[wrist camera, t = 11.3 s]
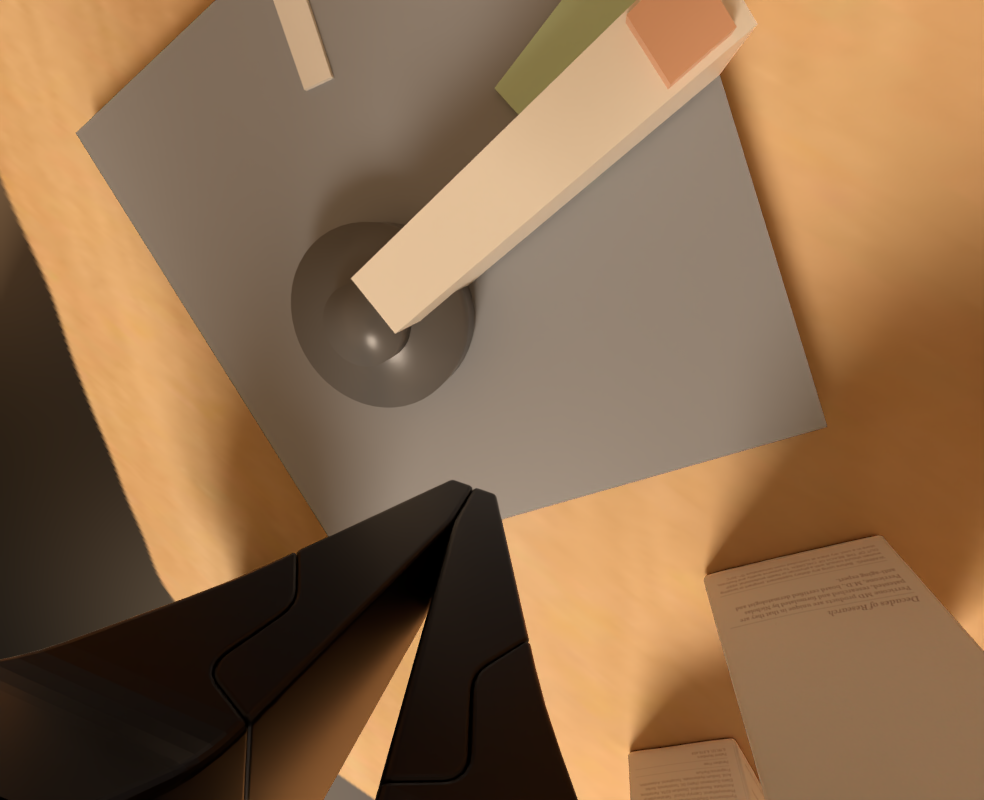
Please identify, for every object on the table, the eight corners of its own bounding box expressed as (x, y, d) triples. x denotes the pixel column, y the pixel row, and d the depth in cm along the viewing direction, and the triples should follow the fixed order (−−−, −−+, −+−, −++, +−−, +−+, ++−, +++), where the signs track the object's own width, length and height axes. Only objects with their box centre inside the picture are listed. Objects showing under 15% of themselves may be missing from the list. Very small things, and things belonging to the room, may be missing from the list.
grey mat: (354, 551, 26) (343, 566, 25) (99, 137, 20) (70, 132, 19) (815, 416, 18) (830, 429, 17) (589, -313, 13) (588, -364, 12)
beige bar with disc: (389, 423, 21) (338, 468, 17) (283, 296, 20) (204, 313, 16) (761, 143, 14) (820, 112, 10) (632, -67, 13) (644, -189, 9)
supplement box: (697, 571, 21) (807, 980, 10) (883, 529, 19) (1332, 1016, 7) (750, 688, 23) (898, 1159, 11) (928, 664, 20) (1357, 1241, 9)
